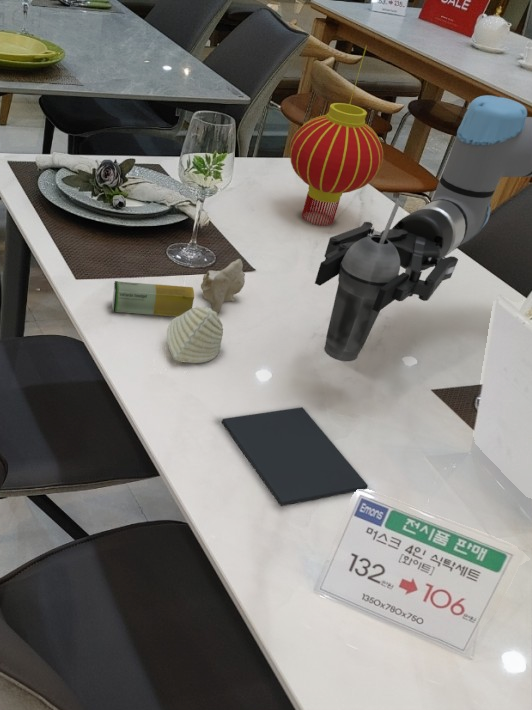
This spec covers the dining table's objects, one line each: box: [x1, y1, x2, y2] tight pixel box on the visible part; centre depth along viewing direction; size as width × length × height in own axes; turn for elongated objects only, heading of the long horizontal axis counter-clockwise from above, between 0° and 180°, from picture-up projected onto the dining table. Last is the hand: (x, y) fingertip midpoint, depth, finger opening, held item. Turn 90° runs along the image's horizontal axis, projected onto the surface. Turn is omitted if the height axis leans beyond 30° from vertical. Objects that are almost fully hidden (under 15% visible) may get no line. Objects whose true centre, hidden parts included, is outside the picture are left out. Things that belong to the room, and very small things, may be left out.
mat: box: [221, 406, 369, 507], centre depth 95 cm, size 16×12×1 cm
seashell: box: [166, 306, 224, 364], centre depth 108 cm, size 8×8×8 cm
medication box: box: [111, 280, 195, 317], centre depth 115 cm, size 12×3×4 cm, turn 93°
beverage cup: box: [323, 198, 402, 363], centre depth 94 cm, size 7×7×20 cm
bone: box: [200, 258, 246, 314], centre depth 118 cm, size 9×6×10 cm
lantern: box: [288, 45, 384, 227], centre depth 140 cm, size 17×17×30 cm
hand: (349, 287), depth 91 cm, fingers closed on beverage cup, 7 cm apart
